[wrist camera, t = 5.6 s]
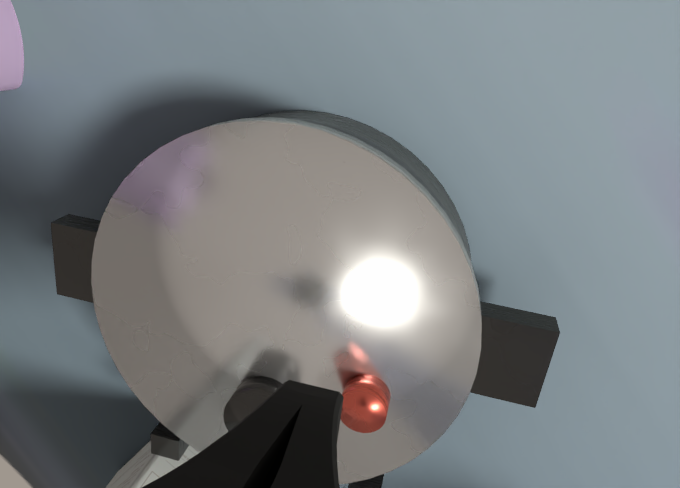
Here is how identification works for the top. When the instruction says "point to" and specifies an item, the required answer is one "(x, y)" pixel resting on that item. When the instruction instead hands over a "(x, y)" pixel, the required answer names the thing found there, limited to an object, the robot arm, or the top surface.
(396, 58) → the top surface
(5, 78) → the pink rounded block
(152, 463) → the supplement box
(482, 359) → the cooker pot
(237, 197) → the cooker lid
